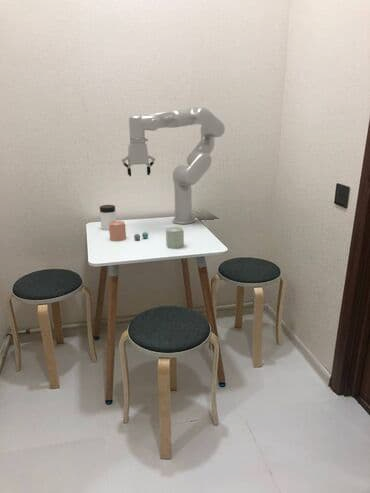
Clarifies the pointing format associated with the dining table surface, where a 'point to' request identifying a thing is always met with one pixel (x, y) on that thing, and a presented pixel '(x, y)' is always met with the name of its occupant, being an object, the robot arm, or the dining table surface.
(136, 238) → the marble
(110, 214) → the jar
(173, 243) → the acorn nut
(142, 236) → the marble
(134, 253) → the dining table surface
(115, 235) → the peach octagonal canister
